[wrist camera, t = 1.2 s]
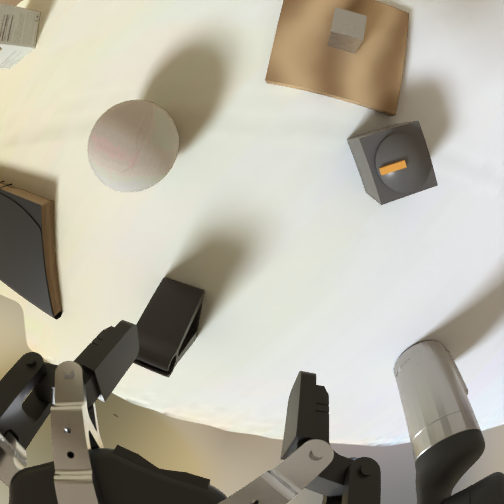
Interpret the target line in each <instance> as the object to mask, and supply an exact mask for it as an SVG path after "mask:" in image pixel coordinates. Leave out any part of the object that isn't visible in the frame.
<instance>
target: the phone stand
mask: <svg viewBox="0 0 504 504" xmlns="http://www.w3.org/2000/svg"><path fill="white" fill-rule="evenodd" d="M203 297H204V291H203V290H200V289H197V288H194V287H191V286H188V285H185V284H182V283H179V282H176V281H173V280H170V279H167V278H163V280H162V281H161V283H160V285H159V286H158V288H157V290H156V291H155V293H154V295H153V296H152V298H151V300H150V302H149V303H148V305H147V307H146V309H145V310H144V312H143V314H142V316H141V317H140V319H139V321H138V323H137V325H136V326H137V330H138V341H139V352H138V355H137V357H136V359H135V360H134V362H133V363H135V364H137V365H139V366H142V367H144V368H146V369H149V370H151V371H153V372H156V373H158V374H161V375H163V376H166V377H169V376H170V375H171V373H172V371H173V369H174V367H175V366H176V364H177V363H178V361H179V360H180V359H181V358H182V356H183V355H184V354H185V352H186V351H187V350H188V349H189V347H190V346H191V345H192V344H193V342H194V341H195V340H196V337H197V331H198V325H199V319H200V314H201V308H202V302H203Z"/></svg>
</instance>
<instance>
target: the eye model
mask: <svg viewBox="0 0 504 504" xmlns="http://www.w3.org/2000/svg"><path fill="white" fill-rule="evenodd" d="M178 148H179V137H178V131H177V128H176V125H175V123H174V121H173V120H172V118H171V117H170V115H169V114H168V113H167V112H166V111H165V110H164V109H163V108H162V107H160V106H158V105H156V104H154V103H152V102H149V101H145V100H130V101H125V102H122V103H119V104H117V105H115V106H113V107H111V108H110V109H108V110H107V111H106V112H105V113H104V114H103V115H102V116H101V117H100V118H99V119H98V121H97V122H96V123H95V125H94V127H93V129H92V131H91V134H90V137H89V141H88V159H89V163H90V166H91V168H92V170H93V172H94V174H95V175H96V176H97V178H98V179H99V180H100V181H101V182H102V183H103V184H105V185H106V186H107V187H109V188H110V189H112V190H115V191H118V192H138V191H142V190H145V189H148V188H150V187H152V186H154V185H155V184H157V183H158V182H159V181H161V180H162V179H163V178H164V177H165V176H166V175H167V173H168V172H169V171H170V169H171V168H172V166H173V164H174V162H175V160H176V157H177V153H178Z"/></svg>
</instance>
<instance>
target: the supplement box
mask: <svg viewBox="0 0 504 504" xmlns="http://www.w3.org/2000/svg"><path fill="white" fill-rule="evenodd" d="M40 13H41V12H38V11H34V10H29V9H25V8H21V7H16V6H10V5H5V4H0V68H3V69H10V68H12V67H13V66H14V65H15V64H16V63H17V62H18V61H20V60H21V59H22V58H23V57H25V56H26V55H27V54H28V53H30V52H31V51H32V50H33V49H35V45H36V37H37V30H38V24H39V18H40Z"/></svg>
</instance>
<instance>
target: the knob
mask: <svg viewBox="0 0 504 504" xmlns="http://www.w3.org/2000/svg"><path fill="white" fill-rule="evenodd" d="M347 141H348V144H349V146H350V149H351V151H352V154H353V157H354V159H355V162H356V165H357V168H358V170H359V173H360V176H361V179H362V182H363V185H364V188H365V191H366V193H367V194H369V195H370V196H371V197H372V198H373V199H375V200H376V201H377V202H378V203H380V204H381V205H383V204H386V203H388V202H391V201H394V200H397V199H400V198H403V197H406V196H409V195H411V194H414V193H417V192H420V191H423V190H426V189H429V188H432V187H434V186H437V181H436V177H435V173H434V169H433V165H432V162H431V158H430V155H429V151H428V148H427V145H426V142H425V139H424V136H423V133H422V130H421V127H420V124H419V121H413V122H407V123H400V124H395V125H392V126H388V127H385V128H382V129H378V130H375V131H372V132H369V133H366V134H363V135H359V136H356V137H353V138H350V139H347Z"/></svg>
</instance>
